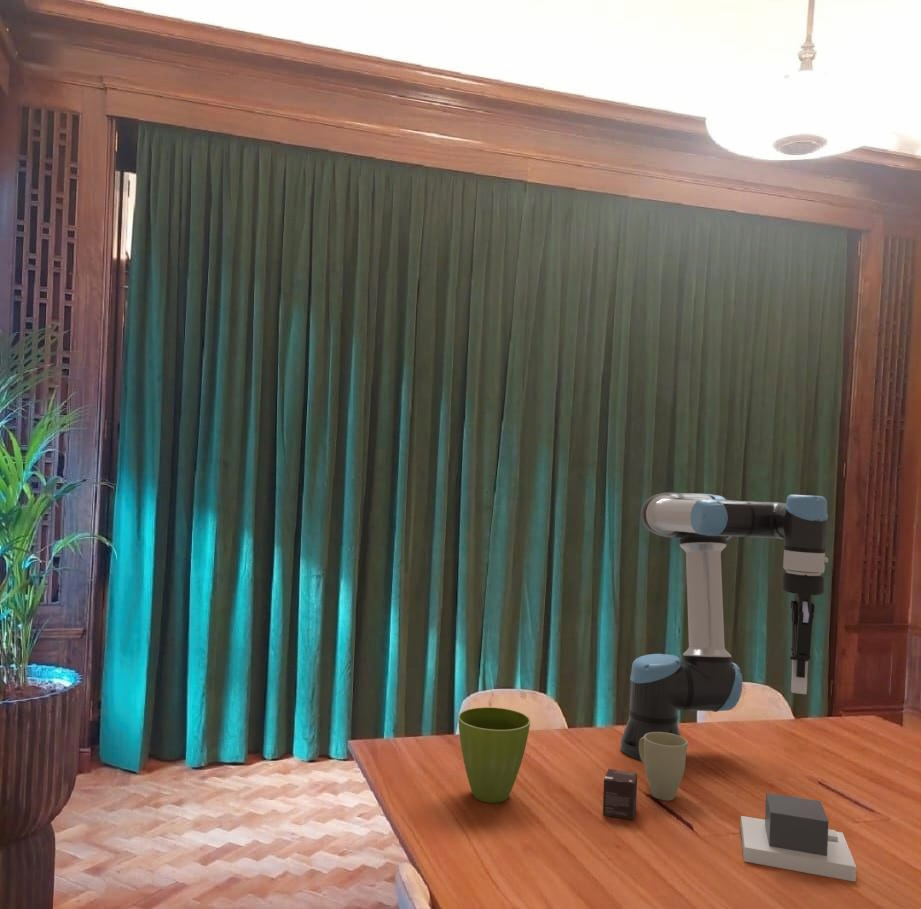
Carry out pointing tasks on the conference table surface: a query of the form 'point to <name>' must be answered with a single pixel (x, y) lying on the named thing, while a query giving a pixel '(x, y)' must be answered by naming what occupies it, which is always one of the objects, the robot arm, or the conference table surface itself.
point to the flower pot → (492, 750)
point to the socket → (797, 853)
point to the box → (620, 794)
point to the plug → (796, 824)
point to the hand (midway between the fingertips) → (798, 692)
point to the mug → (663, 762)
